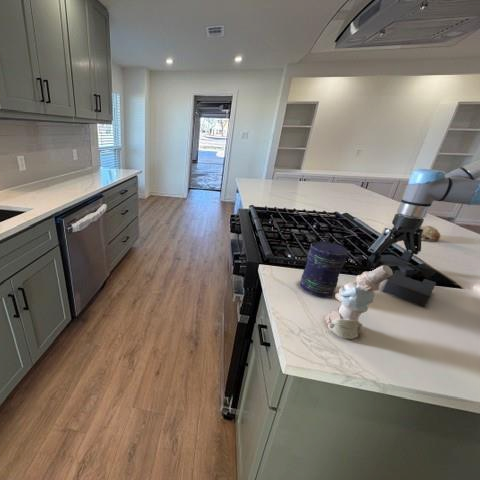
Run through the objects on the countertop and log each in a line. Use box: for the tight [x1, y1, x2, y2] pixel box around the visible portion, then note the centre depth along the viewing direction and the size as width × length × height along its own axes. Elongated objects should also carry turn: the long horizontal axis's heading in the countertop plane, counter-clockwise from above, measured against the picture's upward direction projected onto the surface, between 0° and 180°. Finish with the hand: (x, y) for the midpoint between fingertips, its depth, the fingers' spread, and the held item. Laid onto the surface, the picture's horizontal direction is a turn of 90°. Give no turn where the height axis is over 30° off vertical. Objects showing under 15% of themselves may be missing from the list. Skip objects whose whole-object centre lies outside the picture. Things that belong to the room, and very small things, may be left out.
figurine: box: [325, 265, 393, 340], centre depth 62 cm, size 9×8×20 cm
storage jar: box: [299, 240, 349, 299], centre depth 80 cm, size 10×10×15 cm
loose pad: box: [365, 254, 416, 279], centre depth 94 cm, size 10×11×4 cm
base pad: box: [382, 270, 437, 308], centre depth 81 cm, size 10×12×4 cm
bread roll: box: [421, 225, 441, 243], centre depth 126 cm, size 10×10×8 cm
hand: (386, 268), depth 96 cm, fingers open, 13 cm apart
